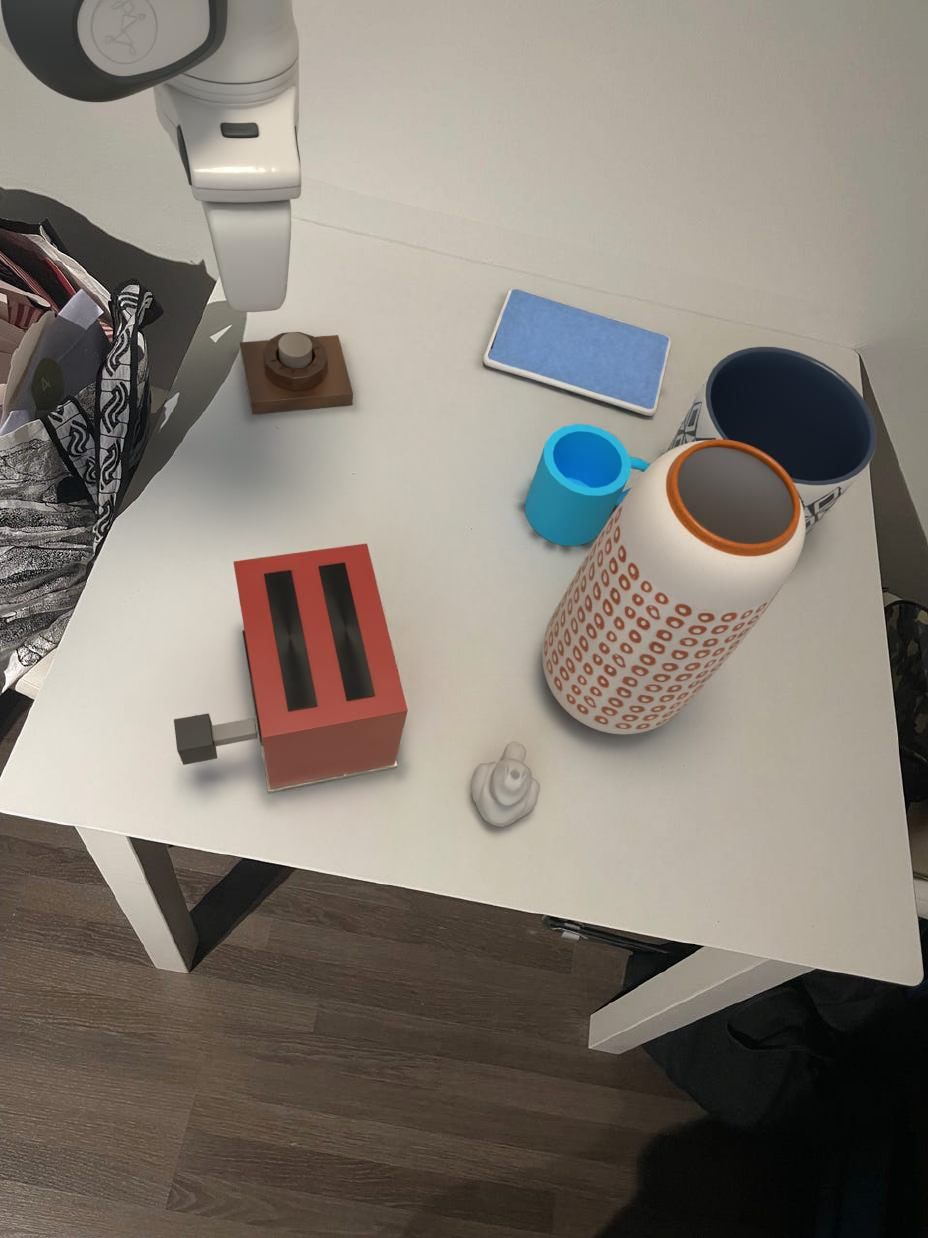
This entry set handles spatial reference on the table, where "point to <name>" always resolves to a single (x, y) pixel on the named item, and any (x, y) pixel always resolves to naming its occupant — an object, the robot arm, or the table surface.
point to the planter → (787, 420)
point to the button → (295, 350)
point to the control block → (295, 376)
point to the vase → (673, 585)
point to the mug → (578, 484)
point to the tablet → (579, 351)
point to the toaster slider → (208, 736)
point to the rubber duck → (505, 787)
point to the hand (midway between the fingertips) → (239, 272)
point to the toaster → (320, 666)
